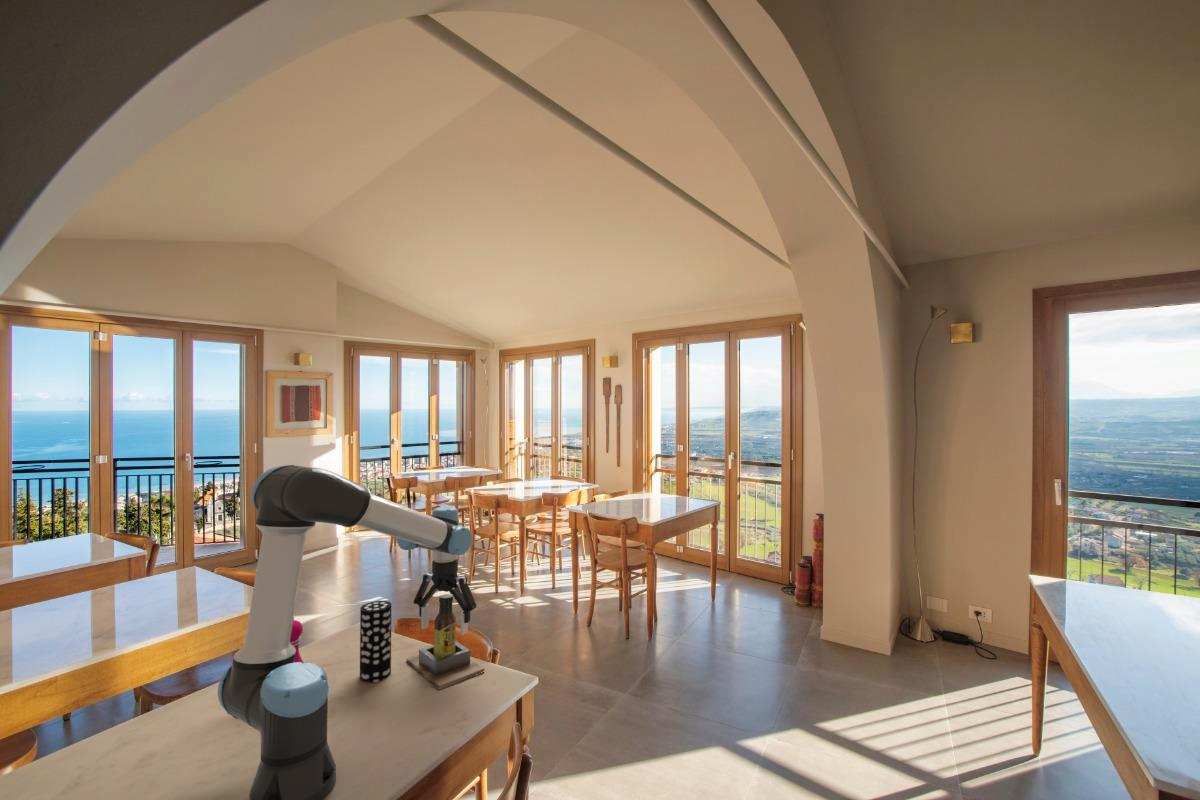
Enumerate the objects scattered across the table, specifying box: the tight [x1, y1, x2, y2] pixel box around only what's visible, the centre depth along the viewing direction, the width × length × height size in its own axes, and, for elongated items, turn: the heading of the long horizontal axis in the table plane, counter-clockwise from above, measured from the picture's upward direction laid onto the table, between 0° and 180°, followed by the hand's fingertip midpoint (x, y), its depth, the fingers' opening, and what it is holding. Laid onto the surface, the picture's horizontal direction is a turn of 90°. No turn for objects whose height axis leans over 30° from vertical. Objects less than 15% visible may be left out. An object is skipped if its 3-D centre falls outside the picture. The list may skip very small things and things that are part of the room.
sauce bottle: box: [433, 593, 457, 659], centre depth 157 cm, size 6×6×20 cm
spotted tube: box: [359, 600, 392, 684], centre depth 152 cm, size 8×8×20 cm
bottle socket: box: [418, 640, 471, 677], centre depth 157 cm, size 11×11×4 cm
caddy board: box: [406, 653, 485, 690], centre depth 156 cm, size 22×14×1 cm, turn 43°
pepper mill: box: [290, 617, 304, 664], centre depth 145 cm, size 7×7×20 cm
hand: (444, 630), depth 157 cm, fingers open, 13 cm apart
